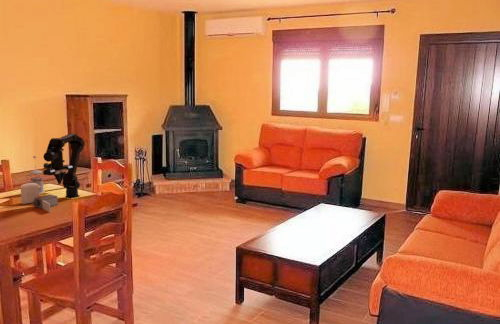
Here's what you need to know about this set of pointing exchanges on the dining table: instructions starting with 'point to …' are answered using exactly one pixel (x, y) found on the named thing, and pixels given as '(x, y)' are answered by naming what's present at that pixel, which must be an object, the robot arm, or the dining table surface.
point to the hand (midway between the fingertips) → (59, 183)
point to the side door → (46, 205)
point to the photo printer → (29, 192)
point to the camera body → (48, 198)
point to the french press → (37, 179)
